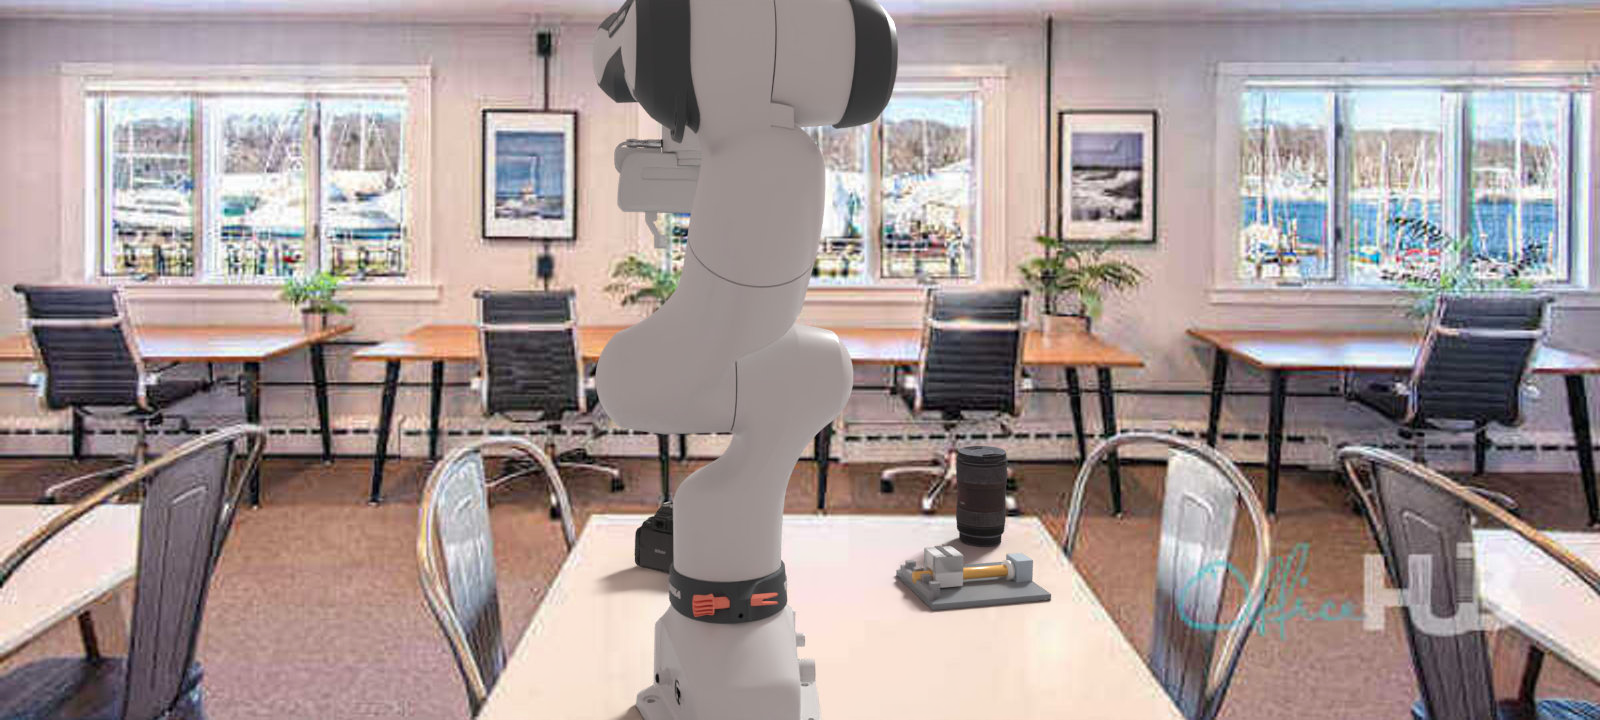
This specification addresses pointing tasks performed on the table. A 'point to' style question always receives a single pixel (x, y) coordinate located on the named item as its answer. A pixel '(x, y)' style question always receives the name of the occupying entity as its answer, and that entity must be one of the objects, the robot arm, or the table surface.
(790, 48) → the robot arm
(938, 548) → the sleeve
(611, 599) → the table surface
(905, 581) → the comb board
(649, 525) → the camera
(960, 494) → the camera lens
